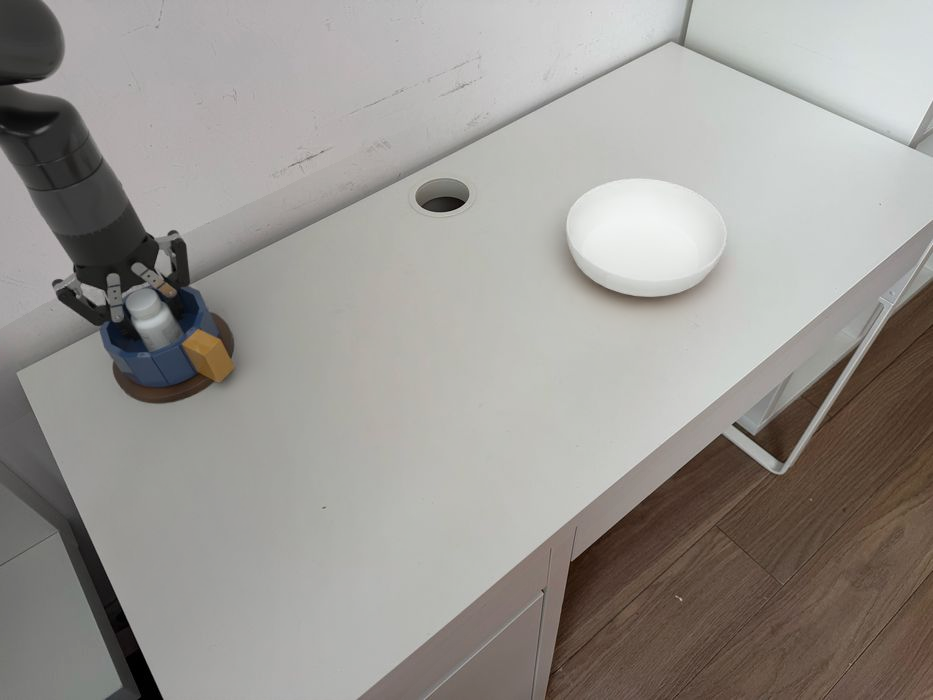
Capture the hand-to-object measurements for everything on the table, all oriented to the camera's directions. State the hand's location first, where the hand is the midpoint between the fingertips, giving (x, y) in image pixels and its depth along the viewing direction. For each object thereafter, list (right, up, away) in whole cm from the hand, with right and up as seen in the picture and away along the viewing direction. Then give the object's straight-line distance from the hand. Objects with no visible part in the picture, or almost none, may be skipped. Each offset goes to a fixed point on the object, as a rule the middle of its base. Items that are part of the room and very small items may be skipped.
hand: (157, 325), depth 79 cm
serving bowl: (+2, -3, +3) cm, 5 cm away
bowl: (+58, +9, +11) cm, 60 cm away
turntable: (0, -4, +5) cm, 6 cm away
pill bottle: (0, -2, +3) cm, 4 cm away
